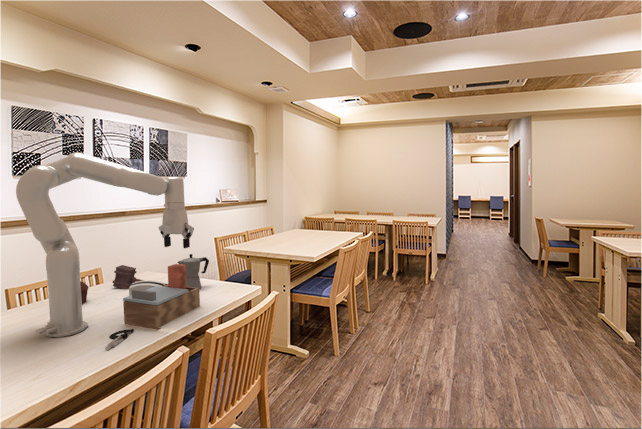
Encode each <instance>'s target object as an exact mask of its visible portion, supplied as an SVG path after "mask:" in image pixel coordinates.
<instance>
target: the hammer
mask: <svg viewBox="0 0 642 429" xmlns="http://www.w3.org/2000/svg"><path fill="white" fill-rule="evenodd" d="M113 273H115V277H114V280H112V287H114V288H119V289H123V290H129V287H130V286H131V284H133V283H135V282H138V281H145V279H141V278H137V277H135V274H137V268H136V267H132V266H128V265H124V264H122V265H118V266H116V267H115V270H114V271H113ZM163 283H164V284H165V286H166V285H168V283H165V282H163Z"/></svg>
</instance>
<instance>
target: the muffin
mask: <svg viewBox="0 0 642 429" xmlns="http://www.w3.org/2000/svg"><path fill="white" fill-rule="evenodd" d="M80 285H81V300H82V305H84V304H86V303H87V298H88V297H87V296H88V290H89V286H88V285H87V284H86V282H83V281H81V280H80ZM85 302H86V303H85ZM83 303H84V304H83Z"/></svg>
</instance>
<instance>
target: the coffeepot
mask: <svg viewBox="0 0 642 429" xmlns="http://www.w3.org/2000/svg"><path fill="white" fill-rule="evenodd" d="M202 262H204V267H203V270H202V271H201V274H206V272H207V269H208V266H209V264H210V259H208V258H207V257H206V256H204V257H193V254H192V253H190V254H189V257H187V258H183V259H182V260H179V261H177V263H176V264H183V265H186V286H187V287H196V288H199V291H200V290H201V289H202V283H201V278H200V275H199V272H200V270H201V269H200V267H201V263H202Z"/></svg>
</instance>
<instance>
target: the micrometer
mask: <svg viewBox="0 0 642 429" xmlns="http://www.w3.org/2000/svg"><path fill="white" fill-rule="evenodd" d="M133 332H135V330H134V328H131V329H128V328H127V329H122V330H119V331H116V332H114V333H112V334H111V333H110V335H109V336H108V337H109V339H110V340H112V341H110V342H108V343H107V346H105V347H104V349H105V351H109V350H110V349H114V348H115V347H116V346H118V345H119V344H121V343H122V342H123V341H125V340H126V339H127V338H128V337H129V335H130V334H132V333H133Z"/></svg>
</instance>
